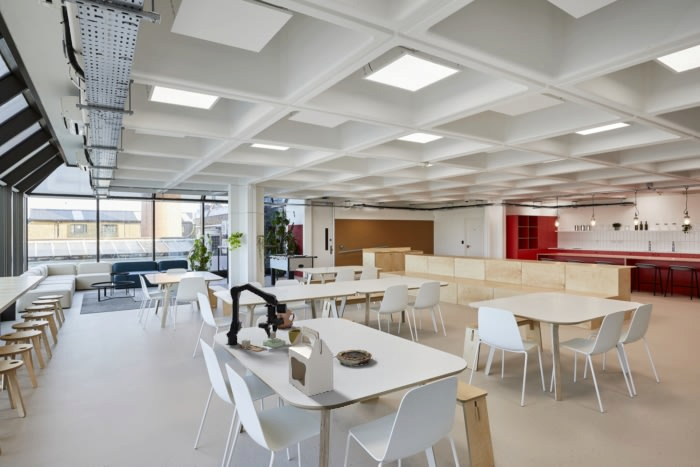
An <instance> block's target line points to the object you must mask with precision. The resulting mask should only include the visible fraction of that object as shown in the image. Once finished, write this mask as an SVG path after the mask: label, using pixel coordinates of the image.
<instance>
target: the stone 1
mask: <svg viewBox="0 0 700 467" xmlns="http://www.w3.org/2000/svg"><path fill="white" fill-rule="evenodd" d="M250 344H251V340H250V339H248V338H247V339H243V340H241V345H242V347H245V348H246V347H250Z"/></svg>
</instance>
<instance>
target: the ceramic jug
mask: <svg viewBox="0 0 700 467" xmlns="http://www.w3.org/2000/svg"><path fill="white" fill-rule="evenodd" d="M292 311H293V310H292V309H291V308H287V313H278V312H276V315H277V317H278V318H281V317H283V318H284V324H282V325H281V326H279V327H278V329H289V328H291V327H292V326H293V325H294V323H293V322H294V320H295V313H294V312H292ZM291 316H292V318H291ZM290 318H291V319H290Z"/></svg>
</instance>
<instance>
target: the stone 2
mask: <svg viewBox="0 0 700 467" xmlns="http://www.w3.org/2000/svg"><path fill="white" fill-rule="evenodd" d="M281 340H282V339H281V338H278V337H276V338H275V339H273V343H278V342H281Z"/></svg>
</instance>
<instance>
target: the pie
mask: <svg viewBox="0 0 700 467" xmlns="http://www.w3.org/2000/svg"><path fill="white" fill-rule="evenodd" d="M372 356H373V354H372V353H370V352H368V351H367V350H364V349H349V350H348V349H347V350H342V351H339V352H338V353H337V355H336V356H333V359H334V358H336V359H337V360H338V361H339V362H341V365H345V364H347V365H346V366H348V365H350V366H349V367H354V366H353V365H360V366H362V365H361V364H364V365H366V364H368V363H370V361H371V360H370V359H372V358H371V357H372ZM367 362H368V363H367ZM365 363H366V364H365Z"/></svg>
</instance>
